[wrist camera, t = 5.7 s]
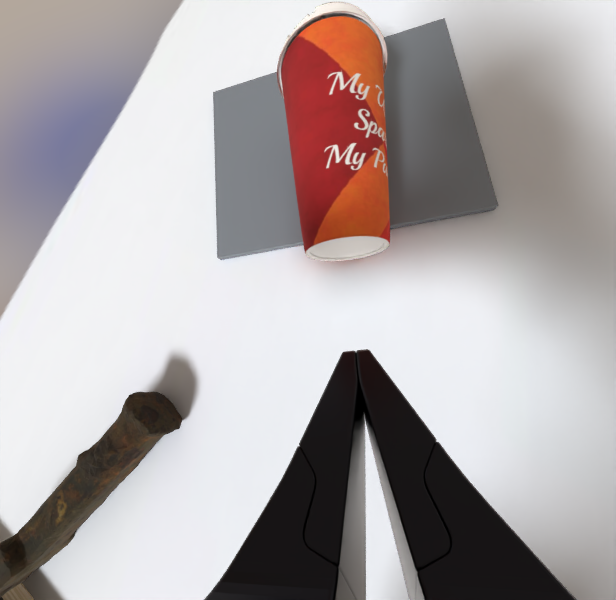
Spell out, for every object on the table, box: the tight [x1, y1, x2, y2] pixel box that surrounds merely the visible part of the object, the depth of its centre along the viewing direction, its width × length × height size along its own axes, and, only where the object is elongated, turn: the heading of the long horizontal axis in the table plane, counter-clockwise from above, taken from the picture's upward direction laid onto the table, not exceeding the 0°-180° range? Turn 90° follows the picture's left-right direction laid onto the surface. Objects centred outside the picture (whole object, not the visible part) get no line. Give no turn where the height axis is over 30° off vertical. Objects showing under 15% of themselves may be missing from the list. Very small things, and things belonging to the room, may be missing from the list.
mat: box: [213, 18, 498, 260], centre depth 22 cm, size 18×22×1 cm
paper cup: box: [277, 2, 390, 261], centre depth 18 cm, size 8×8×14 cm
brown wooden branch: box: [0, 392, 182, 597], centre depth 19 cm, size 19×4×5 cm, turn 135°
